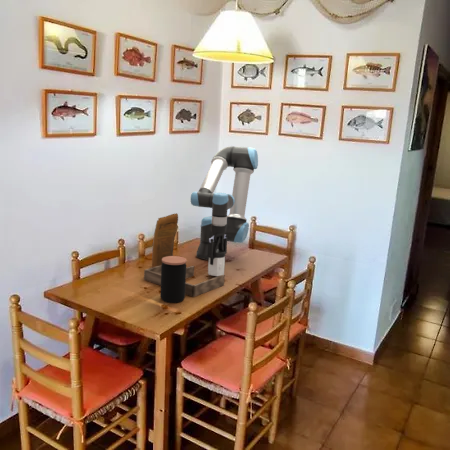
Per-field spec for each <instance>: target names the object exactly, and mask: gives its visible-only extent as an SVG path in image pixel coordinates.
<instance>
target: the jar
mask: <svg viewBox="0 0 450 450" xmlns="http://www.w3.org/2000/svg"><path fill="white" fill-rule="evenodd" d="M225 257H226V254H225V251H224V250H223V251H222V250H219V249H217V250H216V253H215V259H214V260H213V265H211V264H210V258H209V260H207V261H208V263H207V264H208V265H207V274H208V276H213V277H218V276H221V275H225V263H226V262H225V261H226V258H225Z"/></svg>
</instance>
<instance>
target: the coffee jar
mask: <svg viewBox="0 0 450 450" xmlns="http://www.w3.org/2000/svg"><path fill="white" fill-rule="evenodd" d="M162 262H163V263H162V266H161V286H160V298H161V301H163V302H165V303H169V304H177V303H181V302H183V301H184V299H185V298H186V294H185V283H187V282H186V280H187V278H186V268H187V264H186V263H187V258H185V257H183V256H178V255H173V256H167V257H163V258H162Z"/></svg>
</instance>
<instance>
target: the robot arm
mask: <svg viewBox="0 0 450 450" xmlns="http://www.w3.org/2000/svg"><path fill="white" fill-rule="evenodd" d="M258 156H259V155H258V151H257V149H256V148H254V147H249V146H247V147H246V146H245V147H244V146H233V145H231V146H230V145H228V146H226V147H223V148H222V149H220V150H219V151H217V152H216V153H215V154H214V156H213V157H212V159H211V161H210V163H211V164H210V167H209V169H208V171H207V174H206V175H205V177H204V180H203V182H202V184H201V185H200V188H199V190H198V191H192V192H191V195H190V204H191V206H193V207H194V206H195V207H199V208H208V209H209V208H210V209H211V210H212V211H211V216H206V217H203V218H201V221H200V223H201V224H200V236H199V237H200V238H199V245H198V248H197V250H196V253H195V255H196V257H197V258H198V259H201V260H206V261H209V258H210V264H211V265H213V260H214V259H215V253H216V250H217V249H219V250H222V251H223V250H224V251H225V255H226V254H228V252H227V251H228V249H227V248H228V242H230V243H231V242H232V243H237V244H238V243H239V244H240V243H244V242H245V240H246V238H247V236H248V233H249V230H250V228H249V227H250V224H249V223H248V222H247V218H246V215H245V214H246V207H247V202H248V201H247V200H248V194H249V188H250V180H251V176H252V174H254V171H255V170H256V169H258V166H259V157H258ZM228 167H229V168H230V167H231V168H233V171H234V173H235V174H234V180H233V188H232V193H231V194H230V193H224V192H215V190H216V188H217V185H218V183H219V182H220V180H221V177H222V175H223V174H224V172H225V170H227V168H228ZM214 192H215V193H214ZM228 210H229V214H228Z"/></svg>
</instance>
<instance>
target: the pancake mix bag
mask: <svg viewBox="0 0 450 450" xmlns="http://www.w3.org/2000/svg"><path fill="white" fill-rule="evenodd" d="M178 214H179V213H171V214H169V215H165V216H162V217H158V218H157V220H156V225H155V228H154V233H153V238H152V240H153V241H152V255H151V268H153V267H156V266H160V265H162V263H163V262H162V258H163V257H167V256H174V244H175V238H176V235H177V227H178V223H179V222H178V221H179V215H178Z"/></svg>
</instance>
